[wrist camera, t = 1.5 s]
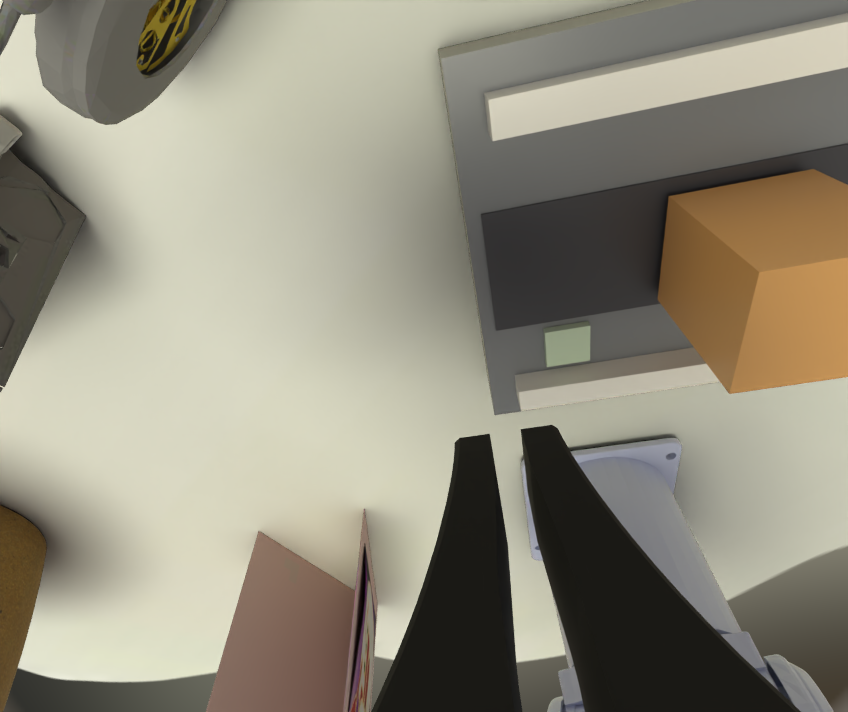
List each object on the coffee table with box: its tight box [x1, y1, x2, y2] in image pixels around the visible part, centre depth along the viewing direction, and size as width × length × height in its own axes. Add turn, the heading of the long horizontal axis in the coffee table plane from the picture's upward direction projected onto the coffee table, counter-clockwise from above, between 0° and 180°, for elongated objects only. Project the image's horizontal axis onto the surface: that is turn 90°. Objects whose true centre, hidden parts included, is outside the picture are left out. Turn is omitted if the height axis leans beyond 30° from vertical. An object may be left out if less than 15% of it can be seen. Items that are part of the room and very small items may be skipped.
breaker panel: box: [438, 0, 848, 415], centre depth 16 cm, size 13×16×3 cm
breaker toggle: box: [657, 169, 848, 394], centre depth 13 cm, size 4×4×5 cm
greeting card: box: [206, 509, 378, 712], centre depth 26 cm, size 11×7×15 cm, turn 0°
